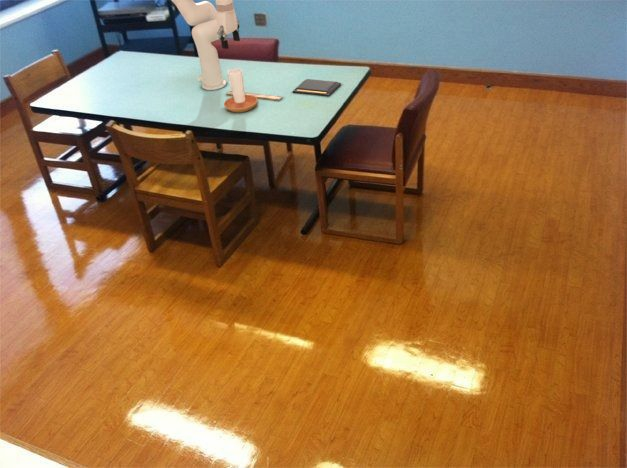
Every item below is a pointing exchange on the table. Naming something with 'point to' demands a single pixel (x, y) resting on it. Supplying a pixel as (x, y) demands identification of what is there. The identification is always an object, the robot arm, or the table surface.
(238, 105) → the saucer
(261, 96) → the ruler
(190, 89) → the table surface
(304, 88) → the wallet
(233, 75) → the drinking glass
